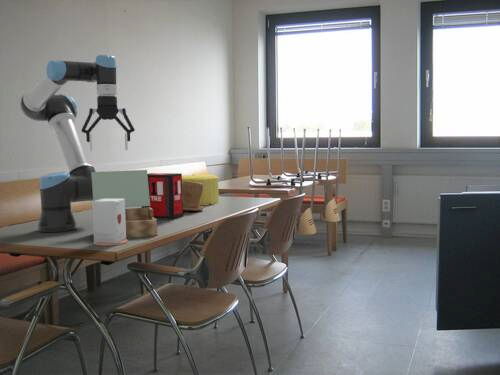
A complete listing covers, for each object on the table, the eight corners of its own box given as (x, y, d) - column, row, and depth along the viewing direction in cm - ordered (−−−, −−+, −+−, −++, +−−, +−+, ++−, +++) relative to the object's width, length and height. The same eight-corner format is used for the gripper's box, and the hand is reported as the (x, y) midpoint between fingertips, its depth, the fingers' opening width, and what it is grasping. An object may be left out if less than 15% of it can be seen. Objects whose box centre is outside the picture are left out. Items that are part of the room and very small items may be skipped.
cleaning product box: (183, 216, 270) (181, 173, 268) (173, 219, 261) (172, 175, 259) (151, 215, 276) (150, 173, 274) (141, 218, 267) (140, 174, 265)
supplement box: (117, 243, 205) (115, 201, 203) (93, 243, 206) (91, 201, 205) (127, 238, 214) (125, 198, 212) (104, 238, 215) (102, 198, 214)
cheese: (178, 200, 335) (177, 174, 333) (222, 199, 331) (222, 173, 330) (165, 206, 309) (164, 178, 308) (213, 206, 305) (212, 177, 304)
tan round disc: (94, 247, 203) (94, 245, 202) (92, 241, 214) (92, 239, 214) (129, 244, 206) (129, 242, 206) (125, 238, 218) (125, 236, 218)
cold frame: (97, 240, 215) (96, 215, 215) (95, 233, 230) (94, 210, 229) (157, 235, 222) (156, 212, 221) (151, 229, 237) (150, 207, 236)
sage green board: (91, 172, 232) (91, 172, 233) (93, 209, 229) (93, 209, 229) (146, 169, 239) (146, 170, 240) (150, 205, 236) (150, 205, 236)
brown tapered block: (208, 209, 291) (207, 179, 290) (197, 213, 280) (196, 182, 279) (181, 208, 297) (180, 179, 295) (169, 212, 286) (168, 181, 284)
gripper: (73, 95, 221) (75, 151, 223) (140, 95, 228) (141, 150, 230) (73, 96, 228) (75, 150, 231) (138, 96, 235) (139, 149, 237)
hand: (108, 150), depth 230 cm, fingers open, 13 cm apart
